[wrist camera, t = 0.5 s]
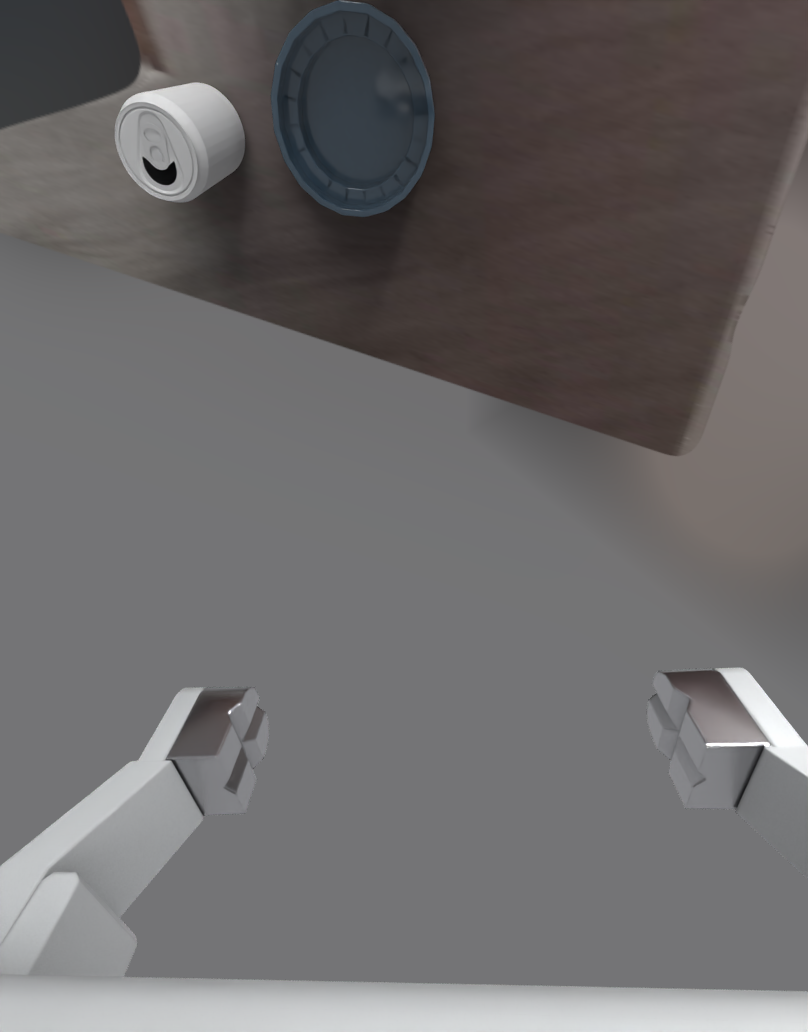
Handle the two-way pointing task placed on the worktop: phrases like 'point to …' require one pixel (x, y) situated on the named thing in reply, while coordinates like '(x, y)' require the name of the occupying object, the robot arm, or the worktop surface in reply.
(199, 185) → the beverage can
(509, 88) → the worktop surface
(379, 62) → the bowl
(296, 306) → the worktop surface
